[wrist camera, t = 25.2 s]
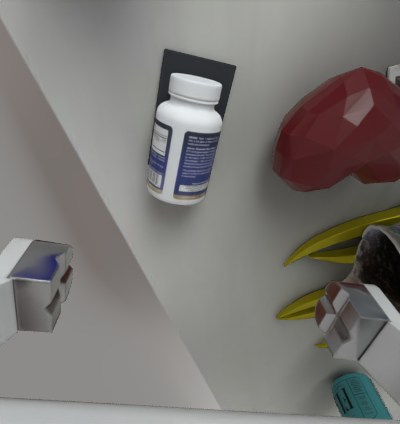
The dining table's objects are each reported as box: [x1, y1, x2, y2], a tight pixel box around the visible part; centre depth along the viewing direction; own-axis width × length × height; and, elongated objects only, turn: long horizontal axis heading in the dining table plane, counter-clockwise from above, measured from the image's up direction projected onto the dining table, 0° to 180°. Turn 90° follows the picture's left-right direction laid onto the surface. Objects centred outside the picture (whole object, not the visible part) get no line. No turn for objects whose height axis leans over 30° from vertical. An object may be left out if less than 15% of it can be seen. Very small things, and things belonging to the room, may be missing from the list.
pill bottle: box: [147, 73, 222, 205], centre depth 26 cm, size 5×5×10 cm
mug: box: [342, 223, 400, 314], centre depth 31 cm, size 10×12×10 cm
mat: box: [148, 49, 236, 165], centre depth 28 cm, size 10×6×1 cm, turn 168°
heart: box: [272, 67, 400, 192], centre depth 25 cm, size 12×8×10 cm
